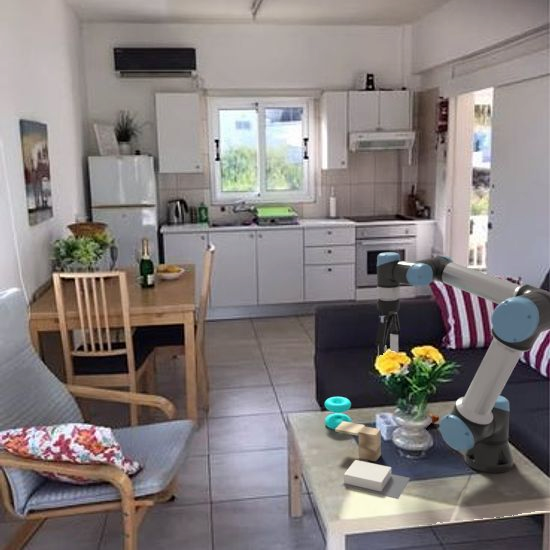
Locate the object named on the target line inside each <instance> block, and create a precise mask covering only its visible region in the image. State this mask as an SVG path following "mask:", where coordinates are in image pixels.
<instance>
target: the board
mask: <svg viewBox="0 0 550 550" xmlns="http://www.w3.org/2000/svg"><path fill="white" fill-rule="evenodd" d="M410 480H411V477H407V476H402V475H397V474H393V473H391V477H390V479H389V481H388V482H387V484H386V485H385V487H384V488H383V490H382V491H376V490H372V489H367V488H363V487H359V486H354V485H350V484H345V483H344V482H343V483H342V484H341V485H340V486H341V487H345V488H347V489H349V488H350V489H353V490H357V491H362V492H366V493H370V494H375V495H379V496H382V497H383V496H384V497H387V498H388V497H389V498H392V499H397V500H399V498H400V496H401V495H402V493H403V491H404V489H405V488H406V486H407V485H408V484H409V483H408V482H409V481H410Z"/></svg>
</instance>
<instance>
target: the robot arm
mask: <svg viewBox="0 0 550 550" xmlns="http://www.w3.org/2000/svg"><path fill="white" fill-rule="evenodd" d="M376 260H377V262H376V279H377V280H376V281H377V282H376V288H375V291H377V293H376V295H377V299H376V308H377V309H378V311H381V312H382V313H381V315H379V316H378V326H377V332H376V339H375V344H374V345H375V346H377V359H378V358H379V356H380V355H383V353H385V352H386V351H387V350H388V348H387V345H386V344H387V339H388V334H389V331H390V334H389V346H390V349H389V351H390V350H391V351H395V352H397V353H396V354H398V353H399V335H401V333H402V331H401V326H400V319H399V313H398V311H399V310H400V309H401V308H400V307H401V306H400V305H401V304H400V301H401V300H400V296H401V295H400V294H401V293H400V291H401V289H400V286H401V285H407V286H412V287H416V288H417V287H418V288H419V287H423V288H424V287H427V286H428V285H429V284H430V283H431V282H433V281H437V282H440V283H443V284H444V285H445V284H446V285H448V286H451V287H453V288H455V289H459V290H461V291H464V292H466V293H469V294H471V295H474V296H476V297H480V298H482V299H484V300H487V301H489V302H492V303H495V304H497V306H496V307H495V308H494V310H493V312H492V314H491V319H490V321H491V323H490V324H492V326H491V327H492V328H491V330H490V333H491V336H492V337H493V338H492V340H491V342H490V345H489V346H488V349H487V351H486V353H485V355H484V357H483V359H482V360H481V363H480V364H479V366H478V368H477V371H476V372H475V375H474V377H473V378H472V381H471V382H470V385H469V387H468V389H467V391H466V393H465V395H464V396H461V397H459V398H458V399H457V400H456V402H455V404H454V406H453V407H452V409H451V411H450V413H447V414H445V415H444V416H443V417H442V418H441V419H440V422H439V432H440V434H441V437H442V439H443V441H444V442H445V443H446V445H447V446H449V447H450V448H452V449H453V450H456V451H460V452H464V462H465V464H466V465H467V466H468V467H470V468H471V469H474V470H476V471H479V472H483V473H487V474H488V473H489V474H500V473H501V474H502V473H506V472H508V471H510V470H512V469H513V467H514V457H513V453H512V451H511V447H510V443H509V430H510V429H509V427H510V411H511V410H510V401H509V400H508V398H506V397H504V396H502V395H501V394H502V392H503V389H504V388H505V386H506V384H507V382H508V380H509V379H510V376H512V375H511V374H512V373H513V371H514V368H516V365H517V363H518V362H519V360H520V358H521V355H522V354H523V353H524V352H525V353H526V352H528V351H530V350H531V349H532V347H533V346H534V344H535V342H536V341H537V338H538V336H539V335H540V334H541V333H543V332H546V331H549V330H550V292H549V291H547V290H544V289H542V288H538V287H537V286H533V285H531V284H526V283H524V284H522V285H521V284H517V283H514V282H510V281H508V280H505V279H502V278H499V277H496V276H493V275H490V274H488V273H485V272H481V271H480V270H476V269H473V268H470V267H467V266H464V265H462V264H458V263H456V262H454V261H453V260H452V259H451V257H449V256H447V255H437V256H433V257H430V258H425V259H420V260H415V261H406V260H401V255H400V253H398V252H391V251H390V252H387V251H386V252H381V253H379V254H378V255H377V257H376ZM400 284H401V285H400Z"/></svg>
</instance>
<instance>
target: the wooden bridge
mask: <svg viewBox="0 0 550 550" xmlns="http://www.w3.org/2000/svg"><path fill="white" fill-rule="evenodd" d="M334 431H335V432H337V433H342V434H345V435H346V434H347V435H353V436H358V458H359V459H362V460H369V461H371V462H377V460H378V459H379V458H380V457H381V456H382V452H381V451H382V441H381V440H382V434H381V433H382V432H381V431H382V429H381V428H375V427H372V426H371V427H370V426H366V425H365V424H362V423H361V424H360V423H356V422H352V421H351V422H345V421H343V422H342V423H341V424H340V425H339V426H338V427H337V428H336V429H334Z"/></svg>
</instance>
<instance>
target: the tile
mask: <svg viewBox="0 0 550 550" xmlns="http://www.w3.org/2000/svg"><path fill="white" fill-rule="evenodd" d="M391 474H392V467H391V466H387V465H382V464H377V463H372V462H368V461H362V460H357V459H355V460H354V461H353V462H352V463H351V465H350V466H349V467H348V468H347V470H346V471H345V472H344V474H343V483H345V484H350V485H354V486H359V487H363V488H367V489H372V490H376V491H382V490H383V488H384V487H385V485H386V484H387V482H388V481H389V479H390V477H391Z"/></svg>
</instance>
